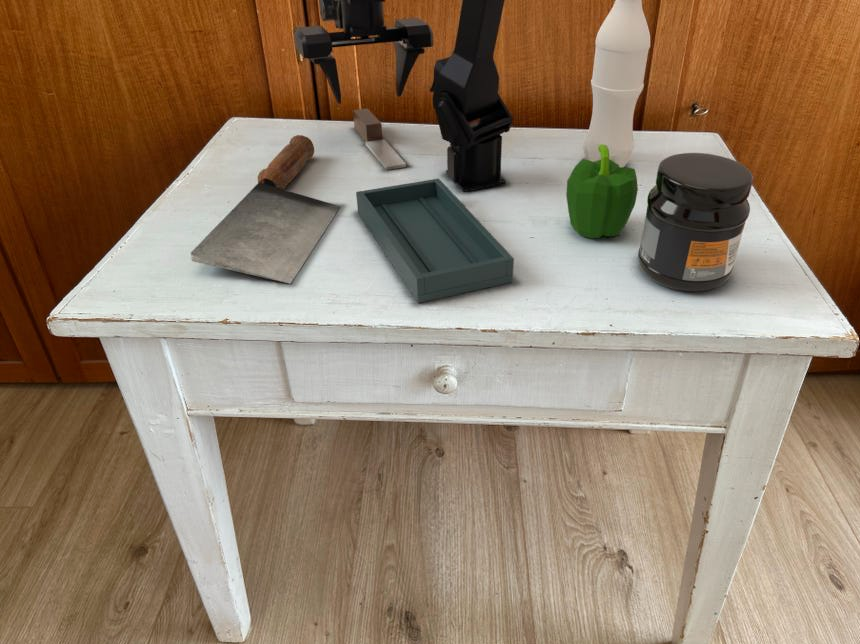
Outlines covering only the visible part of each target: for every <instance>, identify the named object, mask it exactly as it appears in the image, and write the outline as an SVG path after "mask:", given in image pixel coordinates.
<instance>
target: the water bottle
mask: <svg viewBox="0 0 860 644" xmlns="http://www.w3.org/2000/svg"><path fill="white" fill-rule="evenodd" d="M642 3H643V1H642V0H615V1H614V2H613V6H612V7H611V9H610V11H609V12H608V14H607V15H606V17H605V19H604V20H603V22H602V24H601V26H600V27H599V29H598V32H597V34H596V37H595V43H594V44H595V49H594V58H593V69H592V75H591V76H592V77H591V80H590V85H591V91H592V110H591V111H592V112H591V113H592V114H591V119H590V124H589V128H588V131H587V133H586V135H585V137H584V140H583V156H584V159H585V160H589V161H592V162H594V161H598V160H601V152H599V149H598V146H599V145H606V146H607V147H608V149H609V159H610V160H612V161H613V162H615V163H617V164H618V165H619V167H626V165H627V163H628V162H629V161H630V159H631V158H632V154H633V151H634V148H635V141H634V130H633V129H634V114H635V109H636V105H637V102H638V99H639V96H640V95H641V93H642V91H643V90H644V86H645V84H644V80H645V74H646V68H647V61H648V55H649V51H650V50H649V49H650V48H651V33H650V29H649V25H648V22H647V19H646V15H645V12H644V10H643V4H642Z"/></svg>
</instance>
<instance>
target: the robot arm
mask: <svg viewBox="0 0 860 644" xmlns="http://www.w3.org/2000/svg"><path fill="white" fill-rule="evenodd" d="M384 2H386V0H318V5H319V13H320V18H321V21H322V22H331V21H332V22H334V28H335V29H340V30H343V31H334V32H329V31H328V30H327V29H325V27H324V26H322V25H313V26H302V27H301V26H300V27H296V29H295V31H294V33H293V39H294V47H295V50H296V51H297V52H298V53H299V55H301V57H303V59H306V60H307V59H308V60H310V61H311V62H312V63H313V64H314V65H319V67H320V68H321V70H322V72H323V74H324V76H325V78H326V80H327V82H328V85H329V87H330V90H331V92H332V94H333V96H334V99H335V101H336V103H337V104H338V105H342V92H341V86H340V79H339V73H338V66H337V59H336V58H335V57H334V56H333V55H332V52H333V48H343V47H353V46H365V45H372V44H373V45H375V44H384V43H393V49H394V54H395V77H394V78H395V84H394V85H395V94H396V96H397V97H399V98H401V97H402V95H403V93H404V90H405V87H406V85H407V82H408V80H409V76H410V74H411V72H412V69H413V68H414V66H415V64H416V62H417V60H418V58H419V56H420V55H424V54H425V53H426V50H425V48H431V47H433V46H434V32H433V29H432V27H431V26H430V25H429V24H428V23H427V22H425V21H423V20H422V19H420V18H419V17H410V18H399V19H395V20H394V23H393V26H392V27H390V26H389V27H387V25H386V24H385V15H384ZM504 5H505V0H462V1H461V6H460V13H459V18H458V25H457V31H456V38H455V43H454V48H453V51H452V53H451V55H450V56H448V57H444V58H441V59H437V60H435V62H434V66H433V81H432V85H431V86H430V88H429V92H430V93H432V108H433V110H434V112H435V116H436V119H437V120H436V121H437V123H438V128H439V131H440V136H441V138H442V140H443V141H445V142H448V143H449V146H448V147H447V148H446V170H445V174H446V176H448V178H449V179H451V181H452V182H453V183H454V184H455V185H456V186H457V187H458V188H459V189H460V190H461V191H463V192H469V191H474V190H480V189H486V188H491V187H498V186H503V185H505V184H506V181H507V180H506V179H505V178H504V177H503V176H502V175H501V172H502V152H503V151H502V148H503V136H502V134H504V133H509V132H510V130H511V127H512V124H513V122H514V118H513V116H512V113H511V112H510V111H509V109H508V107H507V106H506V104H505V102H504V100H503V99H502V97H501V95H500V94H499V90H500V89H499V88H500V75H499V72H498V69H497V65H496V62H495V59H494V55H495V50H496V45H497V38H498V35H499V29H500V25H501V19H502V15H503V11H504ZM477 120H478V121H477ZM474 121H475V122H474ZM471 122H472V123H471Z"/></svg>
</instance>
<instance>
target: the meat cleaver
mask: <svg viewBox="0 0 860 644" xmlns="http://www.w3.org/2000/svg"><path fill="white" fill-rule="evenodd" d="M314 155H315V146H314V143H313V141H312V140H311V138H309V137H308V136H305V135H303V134H302V135H300V134H297V135H293V136H292V138H290V140H289V143H288V144H287V145H285V146H284V147H283V148H282V149H281V150H280V152H279V153H277V155H275V156H274V158H273V159H272V160H271V161H270V162H269V164H268V165H267V167H266V168H264V169H261V170H260V172H258V175H257V184H256V185H255V186H254V187H253V188H252V189H251V190H250V191H249V192H248V193H247V194H246V195H244V197H243V198H242V199H241V200H240V201H239V202H238V203H237V204H236V205H235V206H234V207H233V209H231V211H229V213H228V214H227V215H225V217H224V218H223V219H222V220H221V221H220V222H219V223H218V224H217V225H216V226H215V227H214V228H213V229H212V230H211V231H210V232H209V233H208V234H207V235H206V236H205V237H204V239H203V240H201V241H200V242H199V244H197V246H195V248H193V250H191V252H190V260H191V262H192V263H193V262H194V263H198V264H201V265H207V266H211V267H215V268H219V269H224V270H229V271H233V272H238V273H242V274H246V275H251V276H255V277H260V278H264V279H268V280H272V281H276V282H281V283H285V284H289V285H291V284H292V282H293V281H294V280H295V278H296V276H297V275H298V273H299V272H300V270H301V268H302V267H303V265H304V264H305V262H306V260H307V259H308V257H309V256H310V255H311V253H312V252H313V250H314V248H315V247H316V245H317V244H318V242H319V240H320V239H321V238H322V236H323V234H324V233H325V231H326V230H327V228H328V227H329V225H330V223H331V222H332V220H333V219H334V217H335V216H336V215H337V213H338V211H339V210H340V208H341V206H340V205H338V204H334V203H331V202H327V201H324V200H321V199H317V198H313V197H311V196H307V195H304V194H300V193H298V192H294V191H291V190H287V189H286V188H287V186H288V185H289V184H290V183H291V182H292V181H293V180H294V178H295V177H296V176H297V175H298V173H299V172H300V171H301V170H302V169H303V167H304V166H305V165H306V164H307V161H308V160H310V159H312V158H313V157H314Z"/></svg>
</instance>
